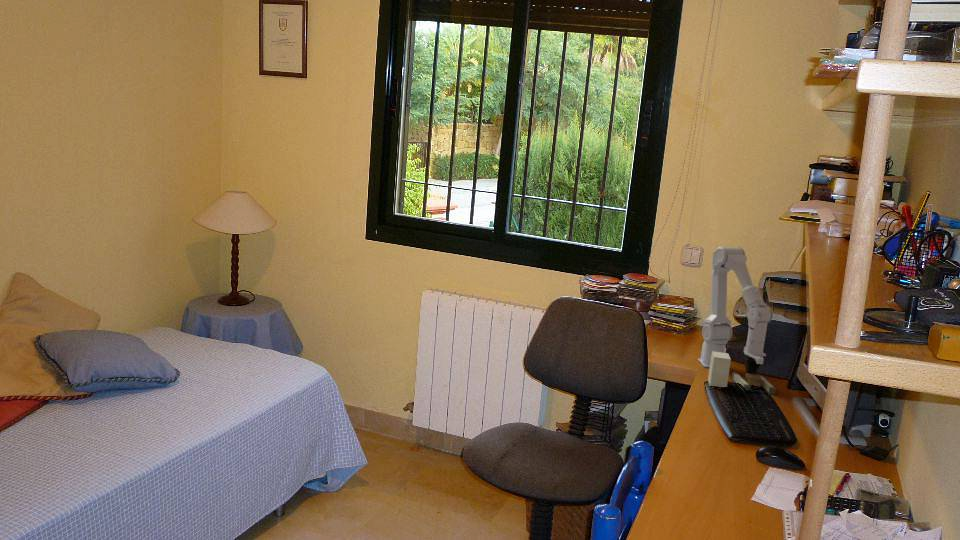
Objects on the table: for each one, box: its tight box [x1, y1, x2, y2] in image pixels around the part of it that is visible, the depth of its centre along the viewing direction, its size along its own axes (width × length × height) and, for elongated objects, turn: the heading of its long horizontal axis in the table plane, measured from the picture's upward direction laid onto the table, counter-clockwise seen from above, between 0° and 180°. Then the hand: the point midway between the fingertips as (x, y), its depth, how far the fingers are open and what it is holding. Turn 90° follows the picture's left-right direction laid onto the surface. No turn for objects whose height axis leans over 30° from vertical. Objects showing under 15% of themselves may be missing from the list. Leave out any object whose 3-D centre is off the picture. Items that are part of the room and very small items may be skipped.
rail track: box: [731, 372, 777, 396], centre depth 272 cm, size 15×10×2 cm, turn 0°
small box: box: [707, 351, 732, 388], centre depth 269 cm, size 8×6×10 cm
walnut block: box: [744, 372, 762, 388], centre depth 273 cm, size 4×4×4 cm
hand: (749, 378), depth 276 cm, fingers closed
